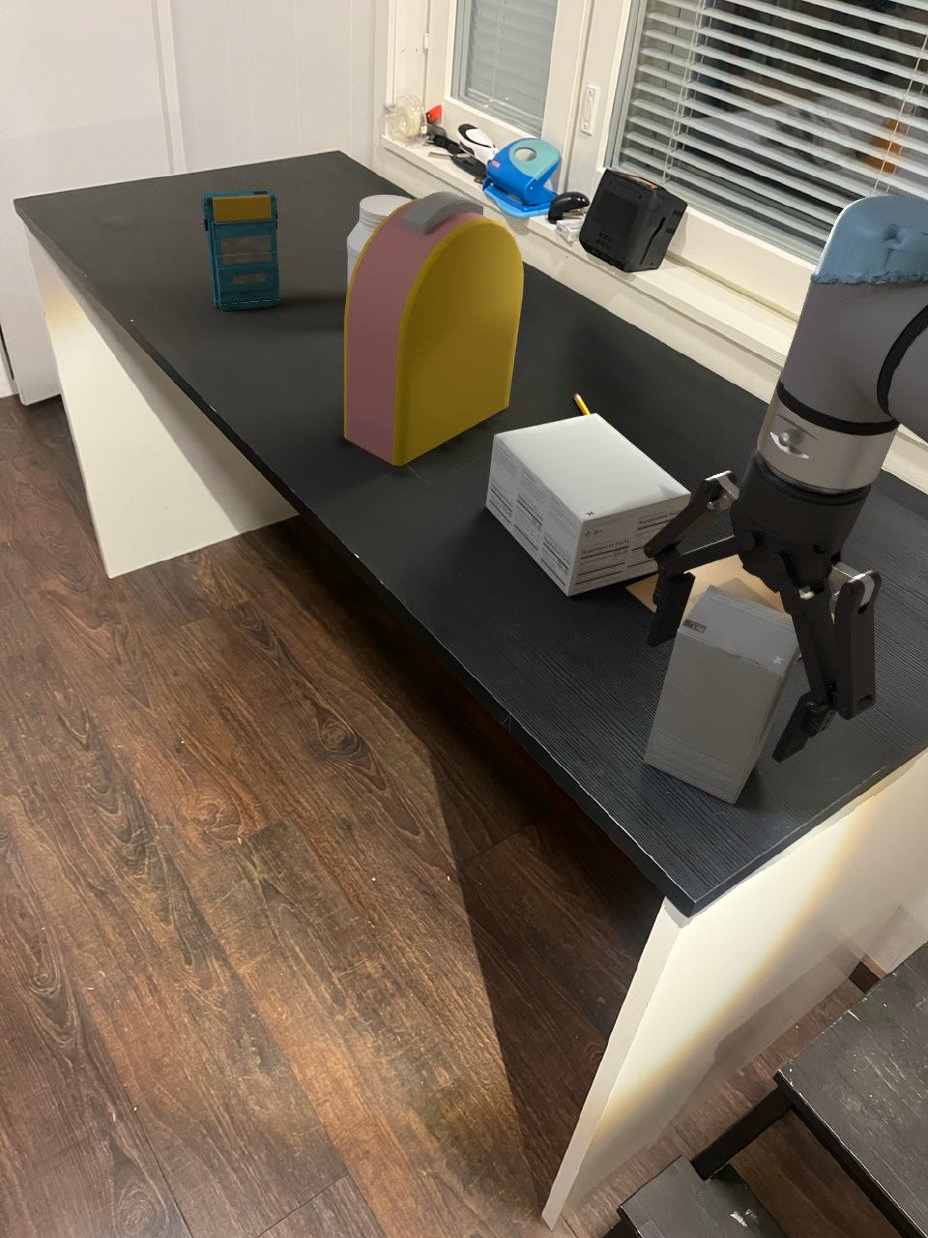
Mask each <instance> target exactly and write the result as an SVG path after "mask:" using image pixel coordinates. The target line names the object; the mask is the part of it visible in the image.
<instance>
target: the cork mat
mask: <svg viewBox="0 0 928 1238" xmlns="http://www.w3.org/2000/svg"><path fill="white" fill-rule="evenodd" d="M742 566H743V564H742V562H741V560H740V558H739V556H738V554H737V555H734V556H731V557H728V558H725V559H722V560H718V561H715V562H712V563H709V564H706V565H703V566H700V567H697V568H694V569H691V570H688V571H685V572H684V574H685V573H687V572H691V573H692V574H693V575H694V576H696V579H695V582H694V585H693V588H692V591H691V594H690V596H689V599H688V602H687V605H686V608H685V611H684V614H683V617H682V620H681V623H680V625H681V624H682V623H683V621H684V620H685V618H686V617H687V615H688V614H689V613H690V611H691V610H692V608H693V607H694V606H695V604H696V603H697V602H698V600H699V599H700V597H701V596H702V595H703V593H704V592H705V591H706V589H707V588H708V587H709V585H710V584H712V585H714V586H716V587H719V588H721V589H724V590H726V591H729V592H731V593H733V594H736V595H738V596H741V597H743V598H746V599H749V600H751V601H753V602H756V603H758V604H761V605H763V606H766V607H768V608H771V609H773V610H776V611H778V612H781V613H783V614H786V615H788V616H791V615H790V614H787V613H786V612H785V611H784V608H783V604H782V600H781V596H780V593H779V592H777V593H774V592H773V591H771V590H770V589H769V588H767V587H766V585H765V584H764V583H763V582H762V581H761V580H760V578H758V577H756V576H753V575H751V574H749V573H748V572H747V571H745V570H744V569H743V568H742ZM658 576H659V573H658V572H657V573H656V574H654V575H651V576H648V577H646V578H643V579H641V580H639V581H637V582H634V583H632V584H630V585H627V586H625V590H627V591H628V592H629V593H630V594H631V595H633V596H634V597H635V598H636V599H637V600H638V601H639V602H641V603H642V604H643V605H645V607H646V608H648V609H649V610H650V611H652V613H653V614H655V611H656V608H657V606H656V605H655V604H654V603H653V599H652V596H653V593H654V589H655V586H656V583H657V579H658ZM799 592H800V596H803V595H805V594H807V593H806V592H804V591H803V590H802V589H800V590H799ZM831 614H832V618H833V622H834V612H831ZM679 627H680V626H679ZM801 658H802V656H801V653H800V656H799V658H798V660H799V659H801Z"/></svg>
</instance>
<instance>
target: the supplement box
mask: <svg viewBox="0 0 928 1238" xmlns="http://www.w3.org/2000/svg"><path fill="white" fill-rule="evenodd" d="M490 461H491V462H490V469H489V478H488V485H487V492H486V500H485V501H486V502H485V507H486V508H487V509H488V511H490V512H491V514H492V515H493V516H494V517H495V518H496V519H497V520H498V521H499V522H500V523H501V525H502V526H503V527H504V529H506V530H507V532H508V533H510V535H512V537H513V538H514V539H515V540H516V541H517V543H519V545H520V546H521V547H522V548H523V549H524V550H525V551H526V552H527V553H528V554H529V556H530V557H531V558H532V559H533V560H534V561H535V563H537V564H538V566H539V567H540V568H541V569H542V570H543V571H544V572H545V573H546V574H547V576H548V577H549V578H550V579H551V580H552V581H553V582H554V583H555V585H557V587H558V588H559V589H560V590H561V591H562V592H563V593H564V594H565V596H566V597H572V596H574V595H578V594H582V593H585V592H589V591H592V590H596V589H598V588H599V589H600V588H602V587H606V586H609V585H613V584H617V583H619V582H624V581H627V580H630V579H634V578H638V577H640V576H644V575H648V574H651V573H655V572H658V571H657V567H658V564H657V563H656V561H655V560H654V558H651V559H650V558H647V557H646V556H645V554H644V551H643V547H644V545H645V544H646V543H647V542H648V541H649V540H651V539H652V538H653V537H654V536H655V535H656V534H657V533H658V532H659V531H660V530H661V529H663V528H664V527H665V526H666V525H667V524H668V523H669V522H670V521H671V520H672V519H673V518H675V517H676V516H677V515H678V514H679V513H680V512H681V511H682V510H683V509H684V508H685V507H687V506H688V505H689V504H690V503H689V502H690V499H691V496H692V492H691V491H689V490H688V489H687V488H686V487H685V486H683V485H682V484H681V483H680V482H678V481H677V480H676V479H674V477H672V476H671V475H670V474H669V473H668V472H666V471H665V470H664V469H663V468H662V467H661V466H659V465H658V464H657V463H656V462H655V461H654V460H652V459H651V458H650V457H649V456H647V455H646V454H645V453H644V452H643V451H642V450H640V449H639V448H638V447H637V446H636V445H635V444H633V443H632V442H630V440H628V439H627V438H626V437H625V436H624V435H623V434H621V433H620V432H619V431H618V430H617V429H615V428H614V427H613V426H612V424H610V423H609V422H607V421H606V420H605V419H604V418H603V417H601V416H600V415H599V414H598V413H590V415H585V416H584V415H580V416H575V417H571V418H565V419H561V420H557V421H553V422H552V421H551V422H547V423H542V424H538V425H533V426H528V427H522V428H518V429H513V430H508V431H503V432H500V433H496V434H494V435H493V443H492V451H491V460H490Z"/></svg>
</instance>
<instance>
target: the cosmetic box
mask: <svg viewBox="0 0 928 1238" xmlns="http://www.w3.org/2000/svg"><path fill="white" fill-rule="evenodd" d="M672 647H673V648H672V651H671V654H670V655H671V656H670V659H669V663H668V666H667V671H666V675H665V678H664V682H663V686H662V688H661V692H660V697H659V699H658V700H659V701H658V704H657V708H656V711H655V716H654V719H653V723H652V728H651V731H650V734H649V737H648V741H647V745H646V750H645V753H644V757H643V760H642V761H643V763H644V764H646V765H648V766H650V767H653V768H654V769H657V770H659V771H661V772H663V773H665V774H668V775H669V776H671V777H673V778H675V779H678V780H680V781H681V782H684V783H686V784H687V785H690V786H693V787H695V788H697V789H699V790H701V791H702V792H705V793H707V794H709V795H711V796H713V797H715V798H717V799H719V800H722V801H724V802H725V803H728V804H730V805H735V804H736V802H737V800H738V798H739V796H740V794H741V793H742V791H743V789H744V787H745V784H746V783H747V781H748V779H749V777H750V775H751V773H752V771H753V770H754V768H755V765H756V763H757V761H758V759H759V758H760V755H761V754H762V752H763V749H764V746H765V743H766V742H767V739H768V736H769V734H770V731H771V729H772V727H773V724H774V721H775V718H776V716H777V713H778V712H779V708H780V706H781V704H782V701H783V699H784V695H785V693H786V690H787V688H788V686H789V683H790V680H791V678H792V676H793V673H794V671H795V668H796V666H797V663H798V661H799V659H800V658H799V656H800V653H801V652H800V648H799V644H798V640H797V636H796V633H795V629H794V625H793V621H792V617H791V616H788V615H786V614H783V613H781V612H778V611H776V610H773V609H771V608H768V607H766V606H763V605H761V604H758V603H756V602H753V601H751V600H749V599H746V598H743V597H741V596H738V595H736V594H733V593H731V592H729V591H726V590H724V589H721V588H719V587H716V586H714V585H712V584H710V585H709V587H708V588H707V589H706V591H705V592H704V593H703V595H702V596H701V597H700V599H699V600H698V602H697V603H696V604H695V606H694V607H693V608H692V610H691V611H690V613H689V614H688V615H687V617H686V618H685V620H684V621H683V623H682V624H681V625H680V627H679V628H678V630H677V635H676V637H675V638H674V643H673V646H672ZM798 658H799V659H798Z"/></svg>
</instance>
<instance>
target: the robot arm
mask: <svg viewBox="0 0 928 1238" xmlns="http://www.w3.org/2000/svg"><path fill="white" fill-rule="evenodd" d="M809 280H810V282H809V285H808V289H807V292H806V295H805V298H804V302H803V305H802V308H801V311H800V315H799V318H798V322H797V325H796V328H795V331H794V334H793V337H792V339H791V342H790V346H789V350H788V352H787V354H786V359H785V361H784V364H783V366H782V369H781V371H780V375H779V377H778V380H777V383H776V385H775V387H774V390H773V392H772V396H771V399H770V401H769V404H768V407H767V410H766V413H765V416H764V418H763V422H762V424H761V427H760V430H759V434H758V436H757V440H756V441H757V446H756V447H755V448H754V449H753V450H752V452H751V455H750V457H749V461H748V463H747V467H746V469H745V472H744V475H743V477H742V480H741V483H740V485H739V487H737V486H736V485H737V482H738V479H737V478H738V477H737V475H736V474H735V472H733V471H731V470H727V471H724V472H721V473H717V474H716V475H712V476H711V477H708V478H705V479H703V480H702V481H701V482H700V483H699V486H698V488H697V490H696V492H695V495H694V497H693V498H692V499H693V500H692V501H690V503H688V506H687V507H685V508H684V509H683V510H682V511H681V512H680V513H679V514H678V515H677V516H676V517H675V518H673V519H672V520H671V521H670V522H669V523H668V524H667V525H666V526H665V527H664V528H663V529H661V530H660V531H659V532H658V533H657V534H656V535H655V536H654V537H653V538H652V539H651V540H649V541H648V542H647V543H646V544H645V545H644V547H643V551H644V554H645V556H646V557H647V558H650V559H651V558H654V560H655V561H656V563H657V564H658V567H657V571H656V572H657V574H658V573H659V576H658V579H657V583H656V586H655V589H654V593H653V596H652V599H653V603H654V604H655V605H656V606H657V608H656V611H655V613H653V618H652V621H651V624H650V628H649V630H648V634H647V637H646V641H645V644H646V645H647V646H648V647H649V648H651V649H654V648H656V647H658V646H660V645H662V644H665V643H667V642H669V641H671V640H673V639H676V635H677V630H678V628H679V626H680V623H681V620H682V617H683V614H684V611H685V608H686V605H687V602H688V599H689V596H690V594H691V591H692V588H693V585H694V582H695V579H696V576H694V575H693V574H692V573H691V572H687V573H685V574H684V572H685V571H688V570H691V569H694V568H697V567H700V566H703V565H706V564H709V563H712V562H715V561H718V560H722V559H725V558H728V557H731V556H734V555H737V554H738V556H739V558H740V560H741V562H742V564H743V566H742V568H743V569H744V570H745V571H747V572H748V573H749V574H751V575H753V576H756V577H758V578H760V580H761V581H762V582H763V583H764V584H765V585H766V587H767V588H769V589H770V590H771V591H773V592H774V593H777V592H779V593H780V596H781V600H782V604H783V608H784V611H785V612H786V613H787V614H790V615H791V617H792V621H793V625H794V629H795V633H796V636H797V640H798V644H799V648H800V652H801V656H802V657H801V659H802V664H803V666H804V671H805V675H806V678H807V683H808V686H809V690H808V691H807V692H805V693H803V694H802V695H800V696H799V699H798V701H797V702H796V705H795V707H794V708H793V711H792V713H791V715H790V717H789V719H788V721H787V723H786V725H785V727H784V729H783V731H782V733H781V735H780V736H779V737H780V738H779V739H778V742H777V743H776V746H775V747H774V750H773V752H772V754H771V757H772V759H774V761H776V762H777V763H778V764H781V763H782V762H783V761H784V762H785V760H787V759H789V758H791V757H792V756H793V755H795V754H798V752H800V751H802V750H804V748H805V747H806V744H807V743H808V740H809V738H810V739H812V738H814V737H816V736H817V735H819V734H821V733H823V732H825V731H826V730H827V729H829V727H830V726H831V724H832V722H833V721H834V719H835V717H836V715H837V713H838V715H839V717H840V718H842V719H843V720H845V721H850V720H852V719H854V718H856V717H857V716H859V715H860V714H862V713H864V712H866V711H867V710H869V709H871V708H872V707H874V706H875V704H876V701H877V694H876V693H877V692H876V691H877V690H876V689H877V688H876V687H877V686H876V647H875V645H876V643H875V603H876V600H877V598H878V595H879V592H880V590H881V587H882V581H883V579H882V576H881V575H880V573H879V572H877V571H876V570H872V569H870V570H868V571H865V572H864V573H862V572H861V571H858V570H856V569H854V568H853V567H851V566H849V565H848V564H845V563H844V562H843V547H844V545H845V543H846V541H847V539H848V538H849V537H850V534H851V533H852V532H853V530H854V527H855V525H856V522H857V520H858V518H859V516H860V515H861V512H862V510H863V507H864V505H865V503H866V501H867V499H868V497H869V495H870V492H871V489H872V483H873V482H874V481H875V480H876V479H877V478H878V476H879V474H880V472H881V469H882V467H883V464H884V463H885V460H886V458H887V455H888V453H889V451H890V449H891V446H892V444H893V442H894V439H895V437H896V434H897V432H898V430H899V428H900V425H902V426H903V427H904V428H906V429H907V430H909V431H910V432H912V433H913V434H914V435H916V436H917V437H918V438H919V439H921V440H922V441H923V442H925V443H926V444H928V200H926V199H920V198H915V197H910V196H909V197H908V196H901V195H875V196H867V197H863V198H860V199H857V200H854V201H853V202H851V203H849V204H848V205H847V206H846V207H845V208H843V210H841V212H840V213H839V215H838V217H837V218H836V220H835V222H834V224H833V226H832V229H831V231H830V234H829V236H828V239H827V241H826V243H825V245H824V248H823V251H822V253H821V255H820V257H819V260H818V261H817V265H816V267H815V269H814V270H813V271H812V272H811V273H810V278H809ZM728 508H729V518H730V522H731V527H732V532H733V534H732V535H730V536H728V537H724V538H723V539H720V540H717V541H715V542H711V543H709V544H706V545H703V546H701V547H698V548H695V549H692V550H689V551H687V552H684V553H682V554H681V553H680V552H679V550H678V549H677V548H678V547H679V546H680V545H681V544H682V543H684V542H685V541H686V540H687V539H688V538H689V537H690V536H692V535H693V534H694V533H695V532H696V531H697V530H699V529H700V528H701V527H702V526H703V525H704V524H706V523H707V522H708V521H709V520H710V519H711V518H712V517H714V516H715V515H716V514H718V512H720V511H723V510H726V509H728ZM830 582H831V583H832V585H833V593H832V588H831V586H830ZM807 587H809V591H808V592H807V593H806V594H805V595H803V596H800V592H799V590H802V589H805V588H807ZM830 601H832V602H834V603H835V606H834V611H833V614H834V622H833V618H832V614H831V613H832V611H831V607H830Z"/></svg>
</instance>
